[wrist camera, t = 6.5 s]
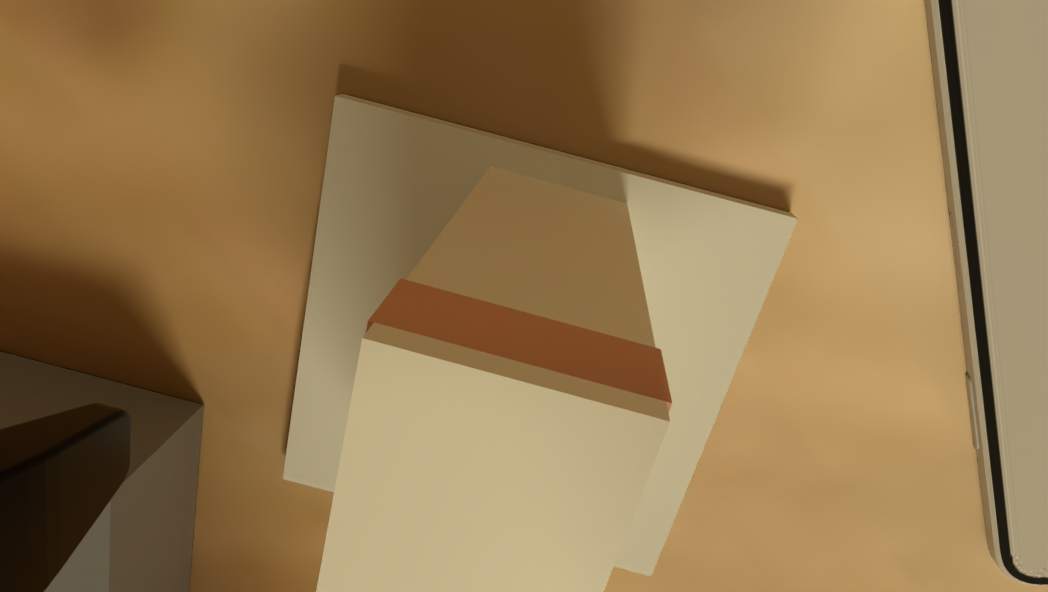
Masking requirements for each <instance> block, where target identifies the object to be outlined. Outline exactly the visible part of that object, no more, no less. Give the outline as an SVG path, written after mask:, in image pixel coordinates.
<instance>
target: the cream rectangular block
mask: <svg viewBox="0 0 1048 592" xmlns="http://www.w3.org/2000/svg"><path fill="white" fill-rule="evenodd" d="M671 406H672V399H671V395H670V390H669V385H668V380H667V376H666V371H665V366H664V362H663V357H662V352H661V349H659V348H656V347H655V342H654V337H653V332H652V327H651V322H650V316H649V311H648V306H647V301H646V296H645V291H644V286H643V281H642V276H641V271H640V266H639V261H638V256H637V251H636V245H635V240H634V235H633V230H632V225H631V220H630V215H629V210H628V205H627V203H623V202H619V201H616V200H612V199H608V198H605V197H601V196H597V195H594V194H590V193H586V192H583V191H579V190H575V189H572V188H568V187H564V186H561V185H557V184H553V183H550V182H546V181H542V180H539V179H535V178H531V177H528V176H524V175H520V174H517V173H513V172H509V171H506V170H502V169H498V168H495V167H490V168H489V169H488V171H487V172H486V173H485V175H484V176H483V177H482V179H481V180H480V181H479V183H478V184H477V185H476V187H475V188H474V189H473V191H472V192H471V193H470V195H469V196H468V197H467V199H466V200H465V201H464V203H463V204H462V205H461V207H460V208H459V209H458V211H457V212H456V213H455V215H454V216H453V217H452V219H451V220H450V221H449V223H448V224H447V225H446V227H445V228H444V229H443V231H442V232H441V233H440V235H439V236H438V237H437V239H436V240H435V241H434V243H433V244H432V245H431V247H430V248H429V249H428V251H427V252H426V254H425V255H424V256H423V258H422V259H421V260H420V262H419V263H418V264H417V266H416V267H415V268H414V270H413V271H412V272H411V274H410V275H409V276H408V278H407V279H406V280H405V279H401V278H400V280H399V281H398V282H397V284H396V285H395V286H394V288H393V289H392V290H391V291H390V293H389V294H388V295H387V297H386V298H385V299H384V300H383V302H382V303H381V304H380V306H379V307H378V308H377V310H376V311H375V312H374V313H373V315H372V316H371V317H370V319H369V320H368V323H367V328H366V334H365V335H364V336H363V338H362V342H361V347H360V353H359V358H358V364H357V369H356V375H355V380H354V386H353V392H352V397H351V403H350V408H349V414H348V419H347V425H346V430H345V436H344V441H343V447H342V452H341V458H340V463H339V469H338V474H337V480H336V485H335V491H334V496H333V502H332V507H331V513H330V518H329V524H328V529H327V535H326V540H325V546H324V551H323V557H322V562H321V568H320V573H319V579H318V584H317V590H316V592H604V589H605V587H606V584H607V582H608V579H609V577H610V574H611V572H612V569H613V567H614V564H615V561H616V559H617V556H618V554H619V551H620V549H621V546H622V544H623V541H624V538H625V536H626V533H627V531H628V528H629V526H630V523H631V521H632V518H633V515H634V513H635V510H636V508H637V505H638V503H639V500H640V498H641V495H642V492H643V490H644V487H645V485H646V482H647V480H648V477H649V475H650V472H651V469H652V467H653V464H654V462H655V459H656V457H657V454H658V452H659V449H660V446H661V444H662V441H663V439H664V436H665V434H666V431H667V429H668V426H669V423H670V418H669V411H670V408H671Z"/></svg>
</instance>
